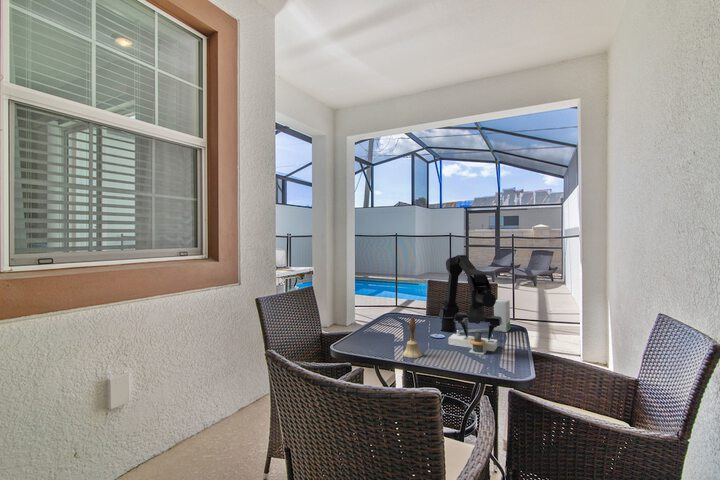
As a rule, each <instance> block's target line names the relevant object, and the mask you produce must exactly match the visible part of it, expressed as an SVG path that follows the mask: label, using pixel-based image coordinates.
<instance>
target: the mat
mask: <svg viewBox="0 0 720 480" xmlns="http://www.w3.org/2000/svg"><path fill="white" fill-rule="evenodd" d="M487 351H488V350H484V349H483V352H474V351H473V348H471V349H470V350H469V352H468V353H470V354H476V355H480V356H481V355H482V356H484V355H485V354H486V353H487Z"/></svg>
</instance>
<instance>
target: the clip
mask: <svg viewBox="0 0 720 480" xmlns="http://www.w3.org/2000/svg"><path fill="white" fill-rule="evenodd" d="M476 331H478V332H481V333H482V332H489V328H471V329H469V328H468V333H474V332H476ZM457 333H461V334H462V333H465V332H464V329H456V334H457Z"/></svg>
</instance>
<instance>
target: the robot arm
mask: <svg viewBox="0 0 720 480" xmlns="http://www.w3.org/2000/svg"><path fill="white" fill-rule="evenodd" d="M445 266H446V267H445V268H446V271H447V273H448V281H447V288H446V289H447V291H446V298H445V301H444V302H443V303H442V304H441V305H442V306H441V309H440V311H439V313H438V317H439V319H440V320H441V329H440V331H441V332H446V333H447V332H448V333H454V332H455V331H457V323H458V324H460V325H461V326H462V330H464V332H463V333H464V335H465V336H466V337H468V336H469V332H468V329H469V326H468V325H469V324H472V323H473V324H477V325H478V324H480V323H481V322H484V323H489V324H488V329H489V331H488V334H487V335H488V336H487V339H488V340H490V339H491V337H492V334H493V332H494V331H495V330H494V328H495V327H497V326H500V325H501V323H502V318H501V317H499V316H494V315H492V316H490V317H487V316H486V315H487V314H486V309H485V307H486V308H492V307H494V304H495V303H496V300H497V298H496V296H495V295H494V294H493V293H492V285H491V283H490V280H489V278H488V276H487V274H486V273H485V272H484V271H482V270H479V269H477V268H476V267H475V266H474V264H473V263H472V262H471V260H470V259H469V256H468V255H466V254H457V255H455V256H453V257H449V258H448V259H446V260H445ZM463 272H464V273H465V275H466V276H467V278H466V281H467V284H468V286H469V288H468V289H469V291H470V305H469V306H470V307H469V308H470V309H469V310H468V314H467V312H462V311H459V309H460V307H459V306H458V304H457V294H458V286H459V285H458V284H459V276H460V275H461V274H462V273H463ZM468 323H469V324H468Z"/></svg>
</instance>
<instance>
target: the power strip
mask: <svg viewBox="0 0 720 480" xmlns="http://www.w3.org/2000/svg"><path fill="white" fill-rule="evenodd" d="M471 339H474V336H473V335H468V337H466V335H465V334H464V335H463V334H462V332H461V333H457V332H456V333H452V334H451V335H450V336H449V337H448V345H451V346H458V347H464V348H471V349H472V348H473V344H471V343H470V340H471ZM481 340H484V341H486V344H485V345H483V349H484V350H487V351H488V352H495V351H496V349H497V348H498V339H494V338H492V339H491V338H490V340H488V337H487V338H485V337H481Z"/></svg>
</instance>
